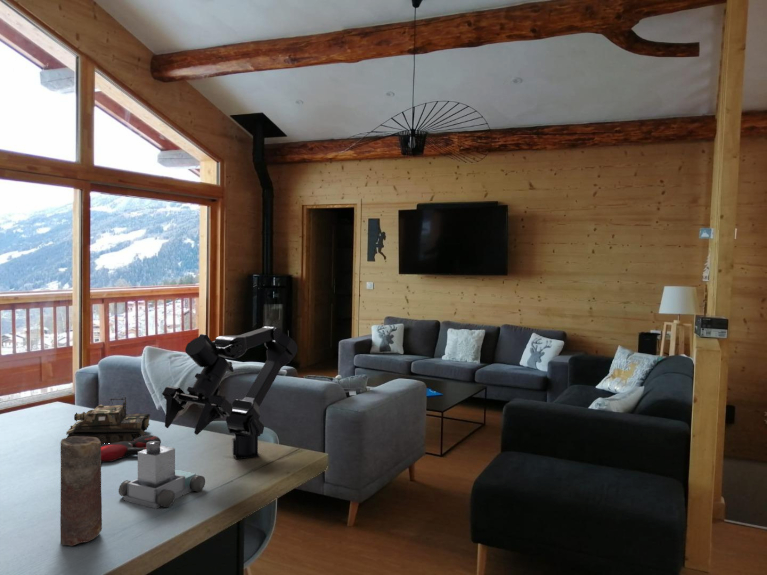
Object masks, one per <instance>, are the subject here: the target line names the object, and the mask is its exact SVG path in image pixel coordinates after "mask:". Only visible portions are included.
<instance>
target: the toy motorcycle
mask: <svg viewBox="0 0 767 575" xmlns="http://www.w3.org/2000/svg"><path fill="white" fill-rule="evenodd" d="M133 440H134V439H133ZM150 441H159V442H160V445H161V443H162V440H161V438H160V437H158V436H156V435H153V434H152V435H150V434H146V435H145V434H144V436H143V435H142V436H141V437H140V436H139V437H138V438H136V439H135V440H134V441H130V442H128V441H123V442H116V443H112V444H107V445H101V462H114V461H116V460H119V459H122V458H126V457H127V456H135V455H136V456H138V452H139V451H142V450H145V449H146V443H147V442H150Z"/></svg>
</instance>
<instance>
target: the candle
mask: <svg viewBox="0 0 767 575" xmlns="http://www.w3.org/2000/svg"><path fill="white" fill-rule="evenodd" d="M101 447H102V445H101V441H100V440H99V439H98V438H96V437H80V436H72V437H68V438H67V437H65V438H61V440H60V511H59V512H60V521H59V522H60V524H59V525H60V531H59V532H60V544H61V545H63V546H71V547H72V546H75V545H78V544H82V543H89V542H90V541H92V540H94V539H96V537H98V536H99V535H100V533H101V531H102V529H103V519H102V518H103V517H102V515H103V512H102V511H103V509H102V508H103V505H102V501H103V500H102V461H101Z"/></svg>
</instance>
